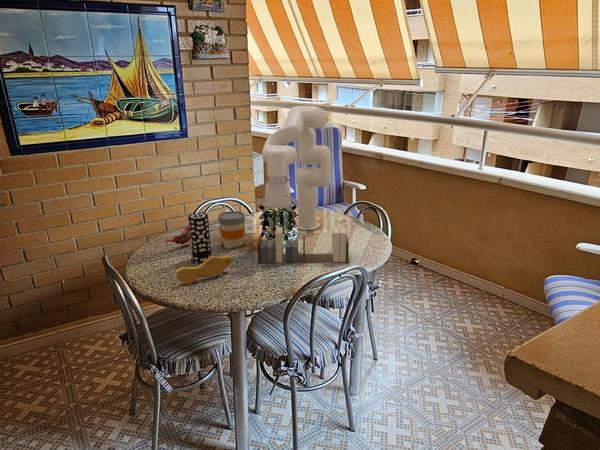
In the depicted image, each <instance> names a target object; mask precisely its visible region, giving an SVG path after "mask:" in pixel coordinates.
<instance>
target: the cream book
mask: <svg viewBox="0 0 600 450" xmlns="http://www.w3.org/2000/svg"><path fill="white" fill-rule="evenodd" d="M283 229H284V228H283V226H276V229H275V233H274V235H275V237H274V238H275V254H276V263H282V261H283V254H284V230H283Z"/></svg>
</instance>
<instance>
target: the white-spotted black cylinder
mask: <svg viewBox="0 0 600 450" xmlns="http://www.w3.org/2000/svg"><path fill="white" fill-rule="evenodd" d="M187 220H188V221H187V222H188V225H189V231H190V240H189V241H190V247H191V256H192V257H191V258H192V262H193V263H195V264H203V263H204V262H205V261H206V260H207V259H208V258H210V257H212V256H213V253H212V241H211V232H210V222H209V221H210V220H209V214H208V213H205V212H196V213H195V212H194V213H191V214H188V216H187Z"/></svg>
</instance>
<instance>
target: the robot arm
mask: <svg viewBox="0 0 600 450" xmlns="http://www.w3.org/2000/svg"><path fill="white" fill-rule="evenodd" d="M327 122H328V116H327V112H326V111H325V110H324V109H323V108H321V107H319V106H316V105H295V106H293V107H291V108H290V109H289V111H288V113H287V115H286V117H285V120H284V123H283V126H282V127H280V128H279V129H277V130H275V131H274V132H273V133H271V134H270V135H269V136H268V137H267V139H266V140H265V142H264V145H263V147H262V152H261V158H262V160H263V162H264V163H266V170H267V171H266V172H267V182H266V183H265V193H264V195H265V196H263V197H262V198H260V199H258V200H256V205H257V207H258V208H259V209H260V210H261V211H262V213H263V220H265V222H266V223H267V222H268V220H269V211H268V210H269V209H287V210H288V222H290V223H291V222H292V220H293V219H294V218H293V216H294V215H293V212H294V211H295V210H296V209H297V212H298V213H297V217H298V218H297V221H298V222H297V225H298V227H297V228H296V229H297V230H300V231H315V230H317V229H319V228H320V222H317V216H318V215H317V193H316V190H315V188H318V187H319V188H326V187H329V185H330V184H331V179H332V178H331V177H332V176H331V174H332V170H331V169H332V153H331V149H330V147H329V146H328V145H317V135H316V132H315V131H314V129H323V128H324V127H325V126H327V125H326V124H327ZM295 141H298V151H297V149H296V148H295V146H292V145H286V144H290V143H293V142H295ZM297 159H298V161H299V163H300V164H302V165H308V166H301V167H299V168H297V170H296V171H295V182H296V187H297V198H295V197H293V196H291V189H290V184H289V181H291V176H288V175H287V165H288V166H289V165H293V164H294V163H296V161H297ZM310 165H311V166H310ZM314 166H320V167H314ZM314 187H315V188H314ZM263 202H264V205H263V204H262V203H263ZM291 202H293V203H294V204H293V206H292V205H291Z"/></svg>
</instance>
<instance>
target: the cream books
mask: <svg viewBox="0 0 600 450" xmlns="http://www.w3.org/2000/svg"><path fill="white" fill-rule="evenodd" d="M331 232H332V233H331V235H332V236H331V237H332V238H331V254H332V257H333V262H339V261H340V262H346V234H347V230H346V226H343V225H342V226H339V225H338V226H332V231H331Z"/></svg>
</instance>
